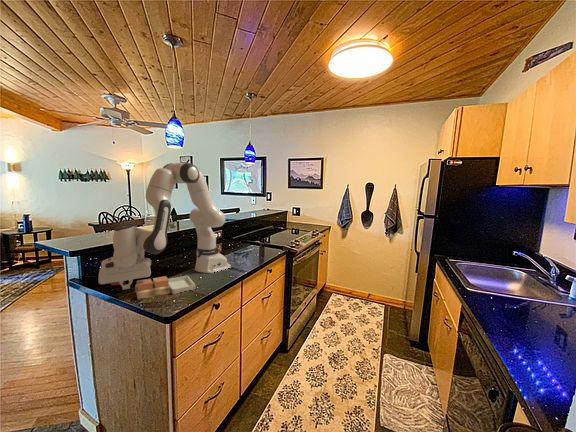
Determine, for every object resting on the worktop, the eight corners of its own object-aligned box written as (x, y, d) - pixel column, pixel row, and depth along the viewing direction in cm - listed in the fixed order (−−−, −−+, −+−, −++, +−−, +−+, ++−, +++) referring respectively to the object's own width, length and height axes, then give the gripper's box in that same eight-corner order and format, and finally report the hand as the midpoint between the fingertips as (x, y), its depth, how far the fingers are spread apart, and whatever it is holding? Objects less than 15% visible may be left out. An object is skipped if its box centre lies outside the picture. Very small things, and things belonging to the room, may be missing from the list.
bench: (166, 285, 129) (166, 279, 128) (170, 293, 120) (170, 287, 120) (135, 290, 120) (134, 285, 120) (137, 299, 111) (137, 293, 111)
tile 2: (166, 281, 126) (166, 276, 126) (168, 285, 121) (168, 279, 121) (152, 283, 122) (152, 278, 122) (155, 288, 118) (154, 282, 117)
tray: (187, 279, 137) (187, 275, 137) (195, 289, 125) (195, 285, 125) (165, 283, 130) (165, 279, 130) (172, 294, 118) (172, 289, 118)
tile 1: (150, 284, 122) (150, 278, 121) (152, 288, 117) (152, 282, 117) (136, 286, 118) (136, 280, 118) (138, 291, 113) (138, 285, 113)
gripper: (150, 255, 120) (150, 282, 122) (97, 261, 107) (98, 291, 109) (152, 259, 115) (152, 286, 117) (97, 265, 103) (98, 296, 104)
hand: (126, 288), depth 113 cm, fingers closed
